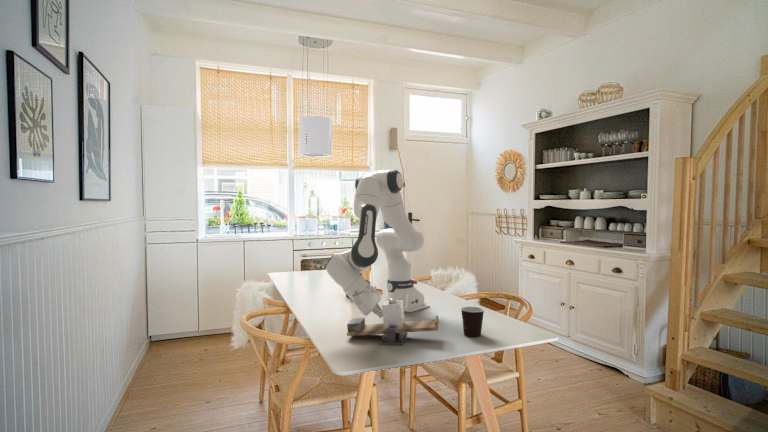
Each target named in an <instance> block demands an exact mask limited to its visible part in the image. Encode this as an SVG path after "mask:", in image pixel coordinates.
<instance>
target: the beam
mask: <svg viewBox="0 0 768 432" xmlns="http://www.w3.org/2000/svg"><path fill="white" fill-rule="evenodd" d="M365 319H366V318H365V317H356V318H355V317H353V318H351V319H350V320H349V321H348V322H347V324H346V327H347V332H346V337H352V336H354V337H356V336H369V335H370V336H371V335H383V334H387V329H384V322H383V323H382V322H381V323H369V324H367V323H366V321H365ZM439 323H440V320H439V315H435V319H426V320H425V319H424V320H413V321H412V320H411V321H405V324H404V327H403V328H399V329H395V333H404V332H406V333H417V332H433V331H434V332H435V331H436V332H437V331H439Z"/></svg>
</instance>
